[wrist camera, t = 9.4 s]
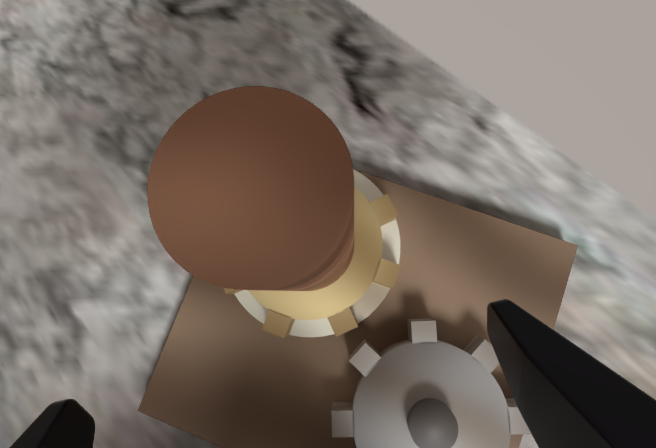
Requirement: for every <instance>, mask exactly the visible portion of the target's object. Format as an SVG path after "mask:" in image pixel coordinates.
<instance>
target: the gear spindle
mask: <svg viewBox="0 0 656 448" xmlns="http://www.w3.org/2000/svg"><path fill="white" fill-rule="evenodd" d="M147 196H148V207H149V213H150V218H151V221H152V224H153V227H154V230H155V232H156V234H157V236H158V238H159V240H160V242H161V243H162V245H163V247H164V248H165V250H166V251H167V252H168V253H169V255H170V256H171V257H172V258H173V259H174V260H175V262H177V263H178V264H179V265H180V266H181V267H182V268H183V269H185V270H186V271H187V272H189V273H191V274H192V275H194V276H195V277H197V278H199V279H201V280H203V281H205V282H207V283H210V284H213V285H216V286H219V287H223V288H224V291H225V293H226V294H236V293H238V292H240V291H242V290H248V291H249V293H250V294H251V295H252V296H253V297H254V298H255V299H256V300H257V301H258V302H259V303H260V304H262V305H263V306H264V307H266V308H267V309H269V312H268V315H267V317H266V320H265V322H264V325H263V328H262V330H264V331H266V332H269V333H271V334H274V335H276V336H279V337H281V338H286V337H287V336H289V334H290V331H291V329H292V326H293V323H294V321H295V319H298V320H316V319H322V318H326V317H327V318H328V320H329V323H330V325H331V327H332V329H333V332H334V334H335V336H336V337H337V336H339V335H341V334H343V333H346V332H348V331H350V330H352V329H354V328H356V327H358V323H357V321H356V319H355V317H354V315H353V312H352V310H351V308H350V306H351V305H353V304H354V303H355V302H356V301H358V300H359V299H360V298H361V297H362V296H363V295H364V293H365V292H366V291H367V290H368V288H369V287H370V285H371V284H372V282H375V283H378V284H380V285H383V286H386V287H388V288H393V287H394V284H395V281H396V278H397V275H398V272H399V269H400V267H401V265H399V264H396V263H394V262H391V261H388V260H385V259H383V258H381V257H382V241H383V240H382V232H381V228H380V227H381V226H383V225H385V224H387V223H389V222H392V221H394V220H395V219H396V217H397V215H398V214H397V212H396V210H395V208H394V206H393V204H392V202H391V200H390V198H389V196H388V194H386V195H384V196H382V197H379V198H377V199H375V200H373V201H371V202H369V201H368V200H367V199H366V197H365V196H364V195H363V194H362V193H361V192H360V191H359V190H358V189H357V188H355V187H354V173H353V165H352V161H351V157H350V153H349V151H348V148H347V146H346V143H345V141H344V139H343V137H342V136H341V134H340V132H339V130H338V129H337V127H336V126H335V125H334V124H333V122H332V121H331V120H330V119H329V118H328V117H327V116H326V115H325V114H324V113H323V112H322V111H321V110H320V109H319V108H317V107H316V106H315V105H313V104H312V103H311V102H309V101H307V100H306V99H304V98H302V97H300V96H298V95H296V94H293V93H291V92H288V91H285V90H281V89H277V88H271V87H263V86H248V87H240V88H234V89H230V90H226V91H222V92H220V93H217V94H215V95H212V96H210V97H208V98H206V99H204V100H202V101H200V102H199V103H197V104H196V105H194V106H193V107H191V108H190V109H189V110H187V111H186V112H185V113H184V114H183V115H182V116H181V117H180V118H178V120H177V121H176V122H175V123H174V124H173V125H172V126H171V128H170V129H169V130H168V132H167V133H166V135H165V136H164V137H163V139H162V141H161V143H160V145H159V147H158V148H157V150H156V153H155V156H154V158H153V161H152V164H151V168H150V172H149V177H148V187H147Z"/></svg>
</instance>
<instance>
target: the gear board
mask: <svg viewBox="0 0 656 448" xmlns="http://www.w3.org/2000/svg"><path fill="white" fill-rule="evenodd" d="M353 173H354V187H355V188H357V189H358V190H359V191H360V192H361V193H362V194H363V195H364V196H365V197H366V199H367V200H368V201H369V202H371V201H373V200H375V199H377V198H379V197H382V196H384V195H386V194H388V196H389V198H390V200H391V202H392V204H393V206H394V208H395V210H396V212H397V214H398V215H397V217H396V219H395V220H394V221H392V222H389V223H387V224H385V225H383V226H381V227H380V228H381V232H382V240H383V241H382V257H381V258H383V259H385V260H388V261H391V262H394V263H396V264H399V265H401V267H400V269H399V272H398V275H397V278H396V281H395V284H394V287H393V288H388V287H386V286H383V285H380V284H378V283H375V282H372V284H371V285H370V287H369V288H368V290H367V291H366V292H365V293H364V295H363V296H362V297H361V298H360V299H359V300H358V301H356V302H355V303H354V304H353V305H351V306H350V308H351V310H352V312H353V315H354V317H355V319H356V321H357V323H358V327H356V328H354V329H352V330H350V331H348V332H346V333H343V334H341V335H339V336H337V337H336V336H335V334H334V332H333V329H332V327H331V325H330V323H329V320H328V318H327V317H326V318H322V319H316V320H298V319H295V321H294V323H293V326H292V329H291V331H290V334H289V336H287V337H286V338H281V337H279V336H276V335H274V334H271V333H269V332H266V331H264V330H262V328H263V325H264V322H265V320H266V317H267V315H268V312H269V309H267V308H266V307H264V306H263V305H262V304H260V303H259V302H258V301H257V300H256V299H255V298H254V297H253V296H252V295H251V294H250V293H249V291H248V290H242V291H240V292H238V293H236V294H226V293H225V291H224V288H223V287H219V286H216V285H213V284H210V283H207V282H205V281H203V280H201V279H199V278H197V277H195V276H193V278H192V280H191V283H190V285H189V288H188V290H187V292H186V295H185V297H184V300H183V302H182V305H181V307H180V309H179V312H178V314H177V317H176V319H175V322H174V324H173V326H172V329H171V331H170V334H169V336H168V339H167V341H166V343H165V346H164V348H163V351H162V353H161V355H160V358H159V360H158V363H157V365H156V368H155V370H154V372H153V375H152V377H151V380H150V382H149V385H148V387H147V389H146V392H145V394H144V397H143V399H142V402H141V404H140V406H139V409H138V411H139V412H142V413H144V414H146V415H149V416H151V417H153V418H155V419H158V420H160V421H162V422H165V423H167V424H169V425H171V426H174V427H176V428H178V429H181V430H183V431H185V432H187V433H190V434H192V435H194V436H197V437H199V438H201V439H204V440H206V441H208V442H210V443H213V444H215V445H217V446H220V447H222V448H519V445H520V442H521V439H522V435H523V434H531V432H530V430H529V428H528V426H527V425H526V423H525V421H524V419H523V417H522V415H521V413H520V411H519V409H518V407H517V405H516V403H515V400H514V398H513V396H512V393H511V391H510V388H509V386H508V383H507V381H506V378H505V376H504V374H503V371H502V369H501V366H500V364H499V361H498V359H497V356H496V354H495V352H494V349H493V347H492V344H491V342H490V339H489V336H488V333H487V306H488V304H489V303H490V302H494V301H498V300H502V299H508V300H511V301H512V302H514V303H515V304H517V305H518V306H520V307H521V308H522V309H524V310H525V311H527V312H528V313H530V314H531V315H533V316H534V317H536V318H537V319H538V320H540V321H541V322H543V323H544V324H546V325H547V326H549V327H550V328H552V329H554V326H555V322H556V319H557V315H558V312H559V308H560V305H561V302H562V298H563V295H564V291H565V288H566V284H567V281H568V278H569V274H570V271H571V267H572V264H573V260H574V257H575V254H576V250H577V247H578V245H575V244H572V243H569V242H566V241H563V240H560V239H557V238H554V237H551V236H548V235H545V234H542V233H539V232H537V231H534V230H531V229H528V228H525V227H522V226H519V225H516V224H513V223H510V222H507V221H504V220H501V219H498V218H495V217H493V216H490V215H487V214H484V213H481V212H478V211H475V210H472V209H469V208H466V207H463V206H460V205H457V204H454V203H451V202H449V201H446V200H443V199H440V198H437V197H434V196H431V195H428V194H425V193H422V192H419V191H416V190H413V189H410V188H407V187H405V186H402V185H399V184H396V183H393V182H390V181H387V180H384V179H381V178H378V177H375V176H372V175H369V174H366V173H363V172H361V171H358V170H355V169H353Z"/></svg>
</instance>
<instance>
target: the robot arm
mask: <svg viewBox="0 0 656 448" xmlns="http://www.w3.org/2000/svg"><path fill="white" fill-rule="evenodd" d="M487 333H488V336H489V339H490V342H491V344H492V347H493V349H494V352H495V354H496V356H497V359H498V361H499V364H500V366H501V369H502V371H503V374H504V376H505V378H506V381H507V383H508V386H509V388H510V391H511V393H512V396H513V398H514V400H515V403H516V405H517V407H518V409H519V411H520V413H521V415H522V417H523V419H524V421H525V423H526V425H527V426H528V428H529V430H530V432H531V434H532V436H533V437H534V439H535V441H536V443H537V445H538V447H539V448H656V400H655V399H653V398H652V397H650V396H649V395H648V394H646V393H645V392H643V391H642V390H640V389H639V388H637V387H636V386H634V385H633V384H632V383H630V382H629V381H627V380H626V379H624V378H623V377H621V376H620V375H618V374H617V373H616V372H614V371H613V370H611V369H610V368H608V367H607V366H605V365H604V364H602V363H601V362H600V361H598V360H597V359H595V358H594V357H592V356H591V355H589V354H588V353H586V352H585V351H584V350H582V349H581V348H579V347H578V346H576V345H575V344H573V343H572V342H570V341H569V340H568V339H566V338H565V337H563V336H562V335H560V334H559V333H557V332H556V331H554V330H553V329H552V328H550V327H549V326H547V325H546V324H544V323H543V322H541V321H540V320H538V319H537V318H536V317H534V316H533V315H531V314H530V313H528V312H527V311H525V310H524V309H522V308H521V307H520V306H518V305H517V304H515V303H514V302H512V301H511V300H508V299H502V300H498V301H494V302H490V303H489V304H488V306H487ZM94 433H95V422H94V419H93V417H92V416H91V415H90V414H89V413H88V412H87V411H86V410H85V409H84V408H83V407H82V406H81V405H80V404H79V403H78V402H77V401H75V400H74V399H66V400H62V401H57V402H54V403H52V404H50V405H49V406H48V407H47V408H46V409H45V410H44V411H43V412H42V413H41V414H40V416H39V417H38V418H37V419H36V420H35V421H34V422H33V423H32V424H31V425H30V426H29V427H28V428H27V430H26V431H25V432H24V433H23V434H22V435H21V436H20V437H19V438H18V439H17V440H16V441H15V442H14V444H13V445H12V446H11V447H10V448H93V441H94Z"/></svg>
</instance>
